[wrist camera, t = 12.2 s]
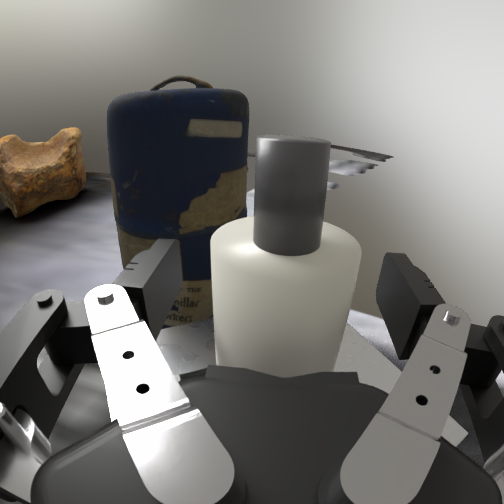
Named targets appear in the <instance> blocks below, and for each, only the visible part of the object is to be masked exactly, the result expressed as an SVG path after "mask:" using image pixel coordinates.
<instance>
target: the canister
mask: <svg viewBox="0 0 504 504" xmlns="http://www.w3.org/2000/svg"><path fill="white" fill-rule="evenodd" d="M176 81H187V82H191V83H193V84H195V85H196V88H193V89H172V90H159V89H160V88H162V87H164V86H165V85H167V84H169V83H171V82H176ZM248 126H249V103H248V100H247V98H246V97H245V95H244V94H242V93H241V92H239V91H236V90H230V89H214V88H213V87H212V86H211V85H210V84H208V83H207V82H204V81H201V80H198V79H196V78H193V77H189V76H181V75H177V76H173V77H170V78H168V79H166V80H163V81H162V82H160V83H158V84H156V85H155V86H154V87H152V88H151V89H150V91H144V92H135V93H128V94H124V95H121V96H118V97H116V98H115V99H114V100H112V102H111V103H110V104H109V106H108V110H107V138H108V151H109V165H110V178H111V188H112V198H113V207H114V216H115V221H116V225H117V232H118V239H119V246H120V252H121V258H122V264H123V268H124V269H125V267H126V266H127V265H128V264H130V261H131V260H132V259H133V258H134V257H135V255H137V254H139V253H140V252H142V251H144V250H149V249H150V248H151V247H152V245H153V244H154V243H155V242H156V240H157V239H159V238H161V239H177V240H178V242H179V249H180V261H181V273H182V283H181V288H180V291H179V293H178V295H177V297H176V299H175V302H174V304H173V306H172V308H171V310H170V312H169V314H168V316H167V318H166V321H165V323H164V325H163V327H162V329H165V328H170V327H174V326H179V325H183V324H187V323H192V322H196V321H200V320H204V319H208V318H213V298H212V276H211V248H210V240H211V237H212V235H213V233H214V232H215V231H216V230H217V229H218V228H220V227H221V226H223V225H225V224H227V223H229V222H231V221H234V220H237V219H241V218H245V217H247V207H246V181H247V171H248V167H247V150H248V148H247V147H248Z"/></svg>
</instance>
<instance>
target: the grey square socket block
mask: <svg viewBox="0 0 504 504" xmlns="http://www.w3.org/2000/svg"><path fill="white" fill-rule="evenodd" d="M156 344H157V346H158V348H159V350H160V352H161V354H162V355H163V357H164V359H165V361H166V363H167V364H168V366H169V368H170V370H171V371H172V373H173V375H174V377H175V378H176V380H177V382H178V381H181V380H183V379H187V378H190V377H195V376H202V375H206V371H207V367H208V365H216V352H215V336H214V318H208V319H204V320H200V321H196V322H192V323H187V324H183V325H179V326H174V327H170V328H165V329H161V331H160V333H159V336H158V338H157V340H156ZM333 372H357V373H358V378H359V382H360V383H364V384H368V385H371V386H374V387H377V388H379V389H381V390H383V391H385V392H387V393H388V394H390V392H391V390H392V389H393V387H394V385H395V384H396V382H397V380H398V378H399V377H400V375H401V373H402V372H401V371H400V370H399V369H398V368H397V367H396V366H395V365H394V364H392V363H391V362H390V361H389V360H388V359H387V358H386V357H385V356H384V355H383V354H381V353H380V352H379V351H378V350H377V349H376V348H375V347H374V346H373V345H371V344H370V343H369V342H368V341H367V340H366V339H365V338H364V337H363V336H361V335H360V334H359V333H358V332H357V331H356V330H355V329H354V328H353V327H351V326H350V325H349V324H348V323H346V327H345V331H344V334H343V338H342V342H341V346H340V349H339V353H338V357H337V360H336V364H335V367H334V371H333ZM105 385H106V384H105ZM106 391H107V388H106ZM107 397H108V403H109V409H110V414H111V420H112V421H113V420H115V419H116V418H117V416H116V413H115V411H114V408H113V405H112V402H111V399H110V396H109V394H108V391H107ZM467 434H468V432H467V431H466V430H464V429H463V428H462V427H461V426H460V425H459V424H458V423H457V422H456V421H455V420H454V419H453V418H452V417H450V416H449V415H448V418H447V421H446V423H445V426H444V429H443V431H442V434H441V436H442V437H444V438H445V439H446V440H447V441H449V442H450V443H451V444H452V445H454V446H455V447H457V446H458V445H459V443H460V442H461V441H462V440H463V439H464V438H465V437H466V436H467Z"/></svg>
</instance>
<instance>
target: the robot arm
mask: <svg viewBox="0 0 504 504" xmlns="http://www.w3.org/2000/svg"><path fill="white" fill-rule="evenodd" d="M181 283H182V273H181V261H180V249H179V242H178V240H177V239H161V238H159V239H157V240H156V242H155V243H154V244H153V245H152V247H151V248H150V249H149V250H144V251H142V252H140V253H139V254H137V255H135V257H134V258H133V259H132V260H131V261H130V264H128V265H127V266H126V267H125V269H124V270H123V271H122V272H121V274H120V275H119V276H118V277H117V279H116V280H115V281H114V282H113V284H112V285H103V286H99V287H97V288H95V289H93V290H91V291H90V292H89V293H88V294H87V295H86V297H85V301H81V302H68V303H66V302H65V299H64V296H63V293H62V292H61V291H59V290H55V289H49V290H44V291H41V292H39V293H37V294H35V295H34V296H32V297H31V298H30V299H29V301H28V302H27V303H26V304H25V305H24V306H23V307H22V308H21V310H20V311H19V312H18V313H17V314H16V315H15V317H14V318H13V319H12V320H11V321H10V323H9V324H8V325H7V326H6V327H5V329H4V330H3V331H2V332H1V334H0V498H2V499H3V500H5V501H8V502H15V501H19V502H21V503H23V504H504V398H503V396H502V394H501V392H500V389H499V387H498V385H497V383H496V381H495V380H496V378H497V377H498V375H499V373H500V372H501V370H502V371H503V373H504V316H499V315H498V316H493V317H492V318H491V319H490V321H489V324H488V326H487V327H484V326H479V325H474V324H471V319H470V317H469V315H468V314H467V313H466V312H465V311H464V310H462V309H461V308H459V307H457V306H454V305H450V304H446V303H445V301H444V300H443V299H442V297H441V296H440V294H439V293H438V291H437V290H436V288H434V285H433V284H432V282H430V280H429V278H428V277H427V275H426V274H425V273H424V272H423V271H421V270H420V269H419V268H417V267H416V266H414V265H413V264H412V263H411V261H410V260H409V258H408V257H407V256H406V254H403V253H388V252H387V253H386V254H385V256H384V260H383V264H382V268H381V272H380V276H379V280H378V284H377V289H376V301H377V304H378V306H379V309H380V311H381V314H382V316H383V319H384V321H385V324H386V326H387V329H388V332H389V334H390V337H391V339H392V342H393V345H394V347H395V350H396V353H397V355H398V358H399V360H407V359H409V360H408V362H407V364H406V366H405V368H404V370H403V371H402V373H401V375H400V377H399V378H398V380H397V382H396V384H395V385H394V387H393V389H392V390H391V392H390V394H388V393H387V392H385V391H383V390H381V389H379V388H377V387H374V386H371V385H368V384H364V383H360V382H359V378H358V373H357V372H317V373H312V374H306V375H300V376H294V377H287V378H282V377H277V376H273V375H269V374H265V373H262V372H258V371H254V370H250V369H247V368H239V367H228V366H217V365H208V367H207V371H206V375H202V376H195V377H190V378H187V379H183V380H181V381H178V382H177V380H176V378H175V377H174V375H173V373H172V371H171V370H170V368H169V366H168V364H167V363H166V361H165V359H164V357H163V355H162V354H161V352H160V350H159V348H158V346H157V344H156V340H157V338H158V336H159V333H160V331H161V329H162V327H163V325H164V323H165V321H166V318H167V316H168V314H169V312H170V310H171V308H172V306H173V304H174V302H175V299H176V297H177V295H178V293H179V291H180V288H181ZM43 347H45V349H46V351H47V355H46V356H45V358H44V360H43V361H42V363H41V364H40V366H39V368H37V358H38V355H39V353H40V352H41V350H42V349H43ZM85 363H99V365H100V368H101V372H102V375H103V378H104V381H105V384H106V388H107V391H108V394H109V396H110V399H111V402H112V405H113V408H114V411H115V413H116V416H117V418H116V419H115V420H113V421H111V422H110V423H108V424H106V425H105V426H103V427H101V428H100V429H98V430H96V431H95V432H93V433H91V434H90V435H88V436H86V437H84V438H83V439H81V440H79V441H77V442H76V443H74V444H72V445H70V446H69V447H67V448H65V449H63V450H61V451H60V452H58V453H56V454H54V455H53V456H51V445H50V442H49V440H48V438H49V436H50V434H51V432H52V430H53V427H54V425H55V423H56V421H57V419H58V417H59V414H60V412H61V410H62V408H63V406H64V404H65V402H66V400H67V398H68V396H69V394H70V392H71V390H72V388H73V386H74V384H75V382H76V380H77V378H78V376H79V374H80V372H81V370H82V368H83V367H84V365H85ZM458 386H460V388H461V391H462V394H463V396H464V399H465V402H466V405H467V407H468V410H469V413H470V416H471V419H472V422H473V425H474V428H475V431H476V434H477V437H478V441H479V444H480V447H481V451H482V454H483V458H484V461H485V465H484V468H482V467H481V466H479V465H478V464H477V463H475V462H474V461H473V460H472V459H470V458H469V457H468V456H466V455H465V454H464V453H463V452H461V451H460V450H459V449H458V448H456V447H455V446H454V445H452V444H451V443H450V442H449V441H447V440H446V439H445V438H444V437H442V436H441V434H442V431H443V429H444V426H445V423H446V421H447V418H448V415H449V413H450V410H451V407H452V404H453V401H454V398H455V395H456V392H457V389H458ZM50 456H51V457H50Z"/></svg>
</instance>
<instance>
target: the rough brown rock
mask: <svg viewBox="0 0 504 504" xmlns="http://www.w3.org/2000/svg"><path fill="white" fill-rule="evenodd" d="M81 138H82V135H81V131H80V130H79V129H78V128H73V127H72V128H66V129H62V130H61V131H60V132H59V133H58V134H57V135H56V136H54V137H52V138H51V139H50V140H49V141H48V142H38V143H29V142H24V141H22V140H20V138H19V137H18V136H17V135H8V136H5V137H2V138H1V139H0V198H1V199H2V201H3V202H4V204H5V206H7V207H9V208H10V209H11V211H12V213H13V215H14V216H15V217H16V218H20V217H22V216H24V215H26V214H29V213H30V212H32V211H34V210H35V209H36V208H38V207H39V206H41V205H42V204H44V203H47V202H50V201H54V200H68V199H72V198H75V197H76V196H77V195H78V193H79V192H80V191H81V190H82V188H83V186H84V184H85V181H86V172H85V166H84V161H83V154H82V144H81Z"/></svg>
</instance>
